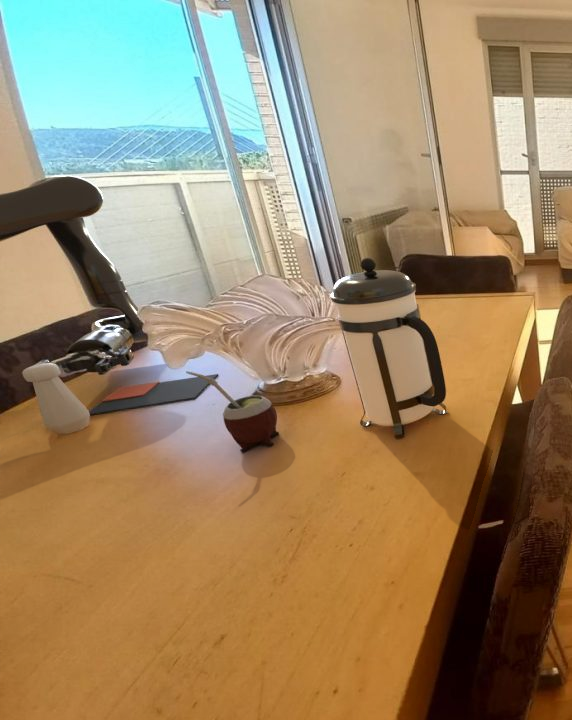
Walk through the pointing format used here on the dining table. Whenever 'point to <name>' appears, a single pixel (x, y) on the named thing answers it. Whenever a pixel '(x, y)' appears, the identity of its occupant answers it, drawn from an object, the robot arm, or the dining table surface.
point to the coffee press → (389, 347)
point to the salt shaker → (56, 400)
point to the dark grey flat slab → (152, 394)
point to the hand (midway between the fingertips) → (69, 375)
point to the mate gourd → (248, 419)
